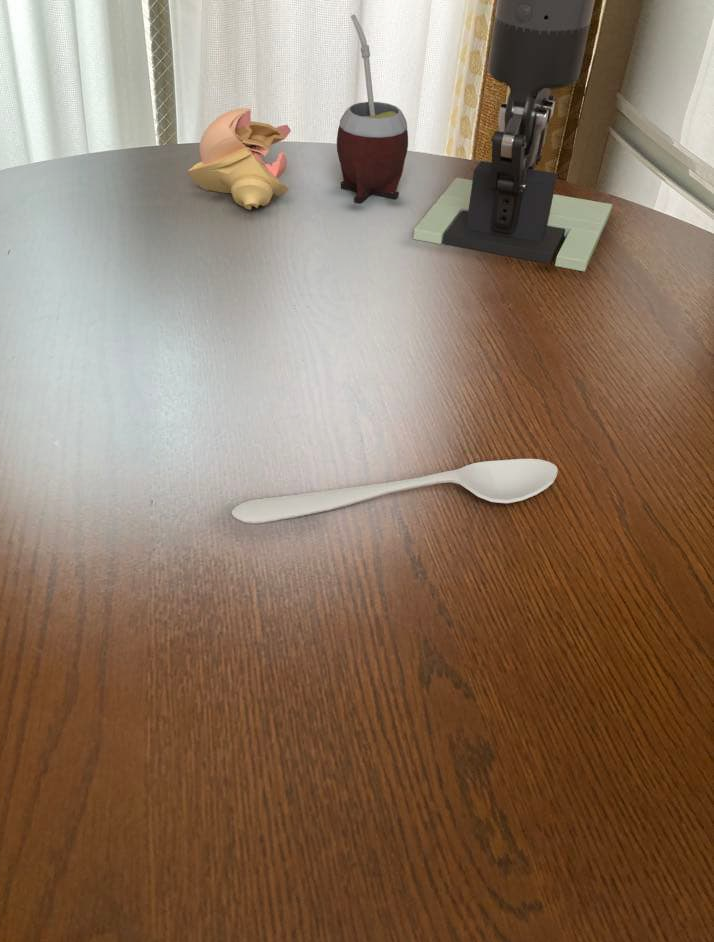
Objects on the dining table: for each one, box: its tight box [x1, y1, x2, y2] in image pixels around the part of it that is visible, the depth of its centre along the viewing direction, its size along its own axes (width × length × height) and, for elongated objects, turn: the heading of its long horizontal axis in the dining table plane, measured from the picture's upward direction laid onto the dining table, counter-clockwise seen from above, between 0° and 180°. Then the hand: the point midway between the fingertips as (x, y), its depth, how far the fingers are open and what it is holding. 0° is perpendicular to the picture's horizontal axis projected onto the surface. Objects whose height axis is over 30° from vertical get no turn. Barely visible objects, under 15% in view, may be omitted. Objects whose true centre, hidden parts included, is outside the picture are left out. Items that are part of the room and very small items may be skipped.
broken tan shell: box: [187, 107, 292, 211], centre depth 90 cm, size 9×10×10 cm
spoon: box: [231, 458, 559, 524], centre depth 57 cm, size 4×21×2 cm, turn 99°
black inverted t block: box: [443, 160, 565, 265], centre depth 85 cm, size 10×8×6 cm
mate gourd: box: [336, 14, 409, 204], centre depth 89 cm, size 8×8×15 cm
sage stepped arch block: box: [412, 177, 613, 272], centre depth 88 cm, size 16×14×1 cm
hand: (507, 223), depth 85 cm, fingers closed on black inverted t block, 2 cm apart
